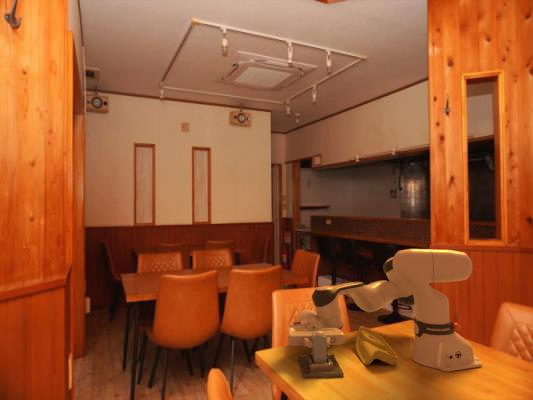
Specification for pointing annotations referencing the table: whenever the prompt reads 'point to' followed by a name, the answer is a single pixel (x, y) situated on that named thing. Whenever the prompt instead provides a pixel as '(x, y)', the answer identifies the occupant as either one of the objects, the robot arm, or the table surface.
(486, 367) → the table surface
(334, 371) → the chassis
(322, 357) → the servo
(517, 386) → the table surface
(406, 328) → the table surface
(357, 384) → the table surface
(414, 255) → the robot arm
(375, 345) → the plastic component
